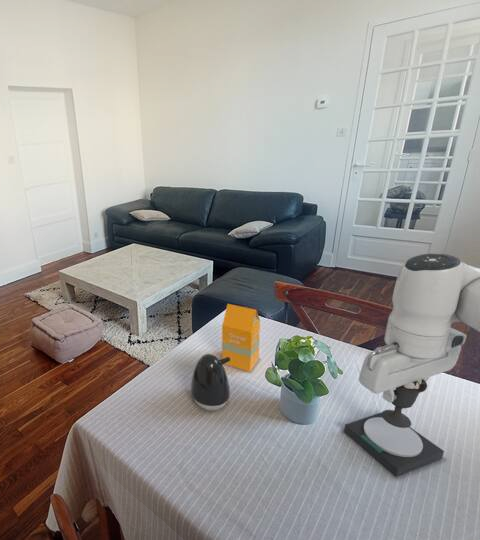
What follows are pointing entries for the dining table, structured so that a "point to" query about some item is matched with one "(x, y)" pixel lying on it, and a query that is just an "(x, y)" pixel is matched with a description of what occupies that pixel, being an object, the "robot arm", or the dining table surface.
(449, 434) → the dining table surface
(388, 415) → the sundae
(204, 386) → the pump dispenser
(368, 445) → the scale
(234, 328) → the orange juice
